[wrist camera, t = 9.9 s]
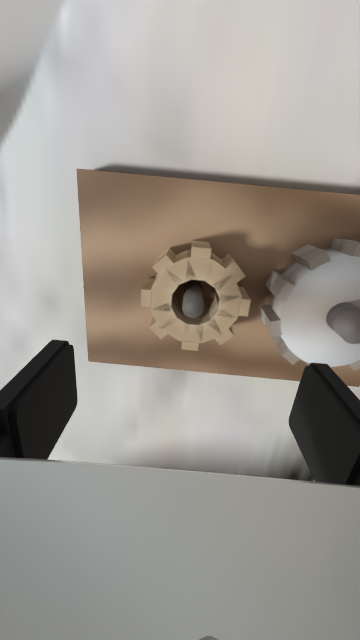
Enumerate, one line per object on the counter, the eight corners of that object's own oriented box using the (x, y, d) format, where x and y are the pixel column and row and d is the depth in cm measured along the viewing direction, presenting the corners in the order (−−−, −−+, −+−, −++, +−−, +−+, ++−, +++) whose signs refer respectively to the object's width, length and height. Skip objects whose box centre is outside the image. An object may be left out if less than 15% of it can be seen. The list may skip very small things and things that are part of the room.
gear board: (347, 373, 26) (398, 430, 19) (95, 349, 26) (64, 399, 20) (416, 201, 20) (523, 203, 13) (87, 171, 20) (37, 158, 13)
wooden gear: (233, 336, 22) (239, 354, 20) (145, 327, 22) (139, 345, 20) (250, 246, 20) (260, 253, 17) (149, 236, 20) (142, 242, 17)
